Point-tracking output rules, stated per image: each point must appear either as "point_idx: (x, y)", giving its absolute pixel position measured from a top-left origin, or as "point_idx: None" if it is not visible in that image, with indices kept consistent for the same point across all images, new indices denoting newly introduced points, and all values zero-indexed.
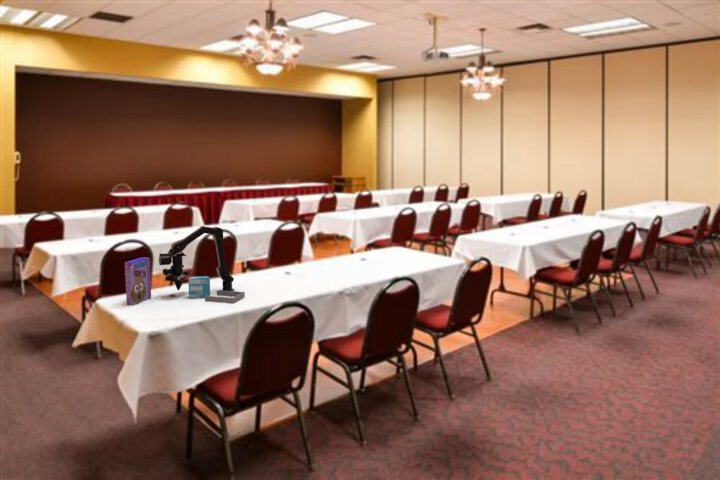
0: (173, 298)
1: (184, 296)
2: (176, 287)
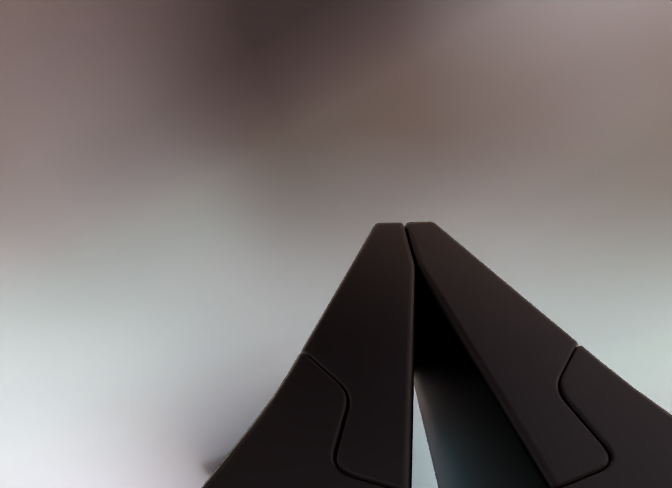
0: (34, 184)
1: None
2: (346, 273)
